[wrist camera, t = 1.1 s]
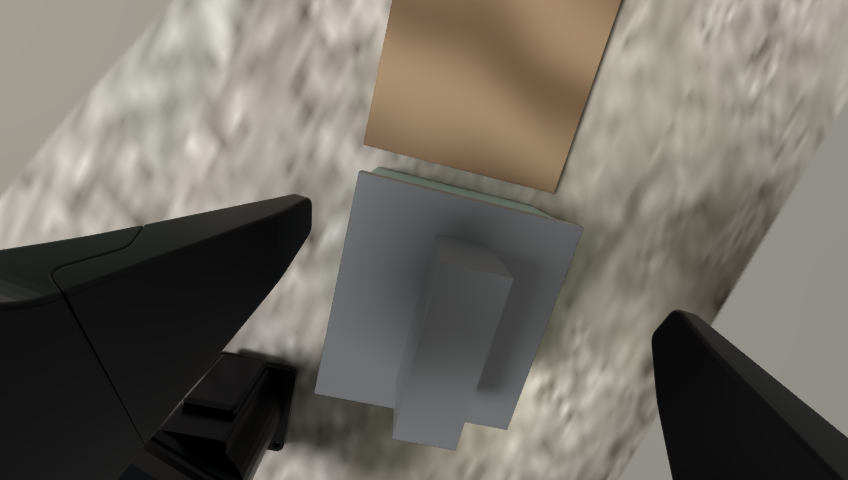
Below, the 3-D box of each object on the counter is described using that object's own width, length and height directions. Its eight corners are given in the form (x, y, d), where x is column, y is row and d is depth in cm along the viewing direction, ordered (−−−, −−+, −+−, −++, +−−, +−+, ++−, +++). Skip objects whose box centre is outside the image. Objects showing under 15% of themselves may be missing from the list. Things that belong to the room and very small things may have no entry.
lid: (497, 400, 19) (529, 500, 14) (324, 366, 18) (288, 458, 13) (563, 217, 17) (634, 254, 11) (365, 168, 16) (340, 181, 10)
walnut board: (551, 192, 21) (553, 193, 20) (364, 144, 20) (363, 144, 19) (632, -44, 18) (637, -48, 17) (416, -115, 16) (416, -121, 16)
